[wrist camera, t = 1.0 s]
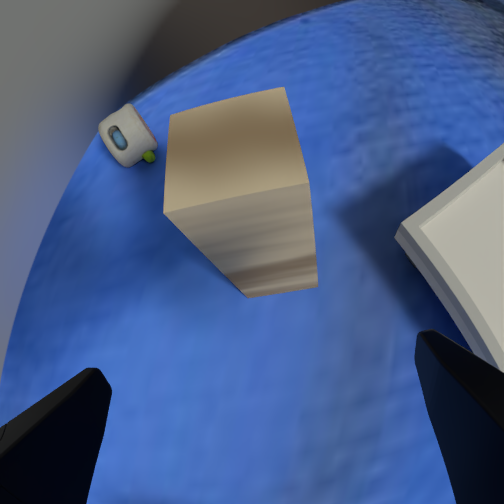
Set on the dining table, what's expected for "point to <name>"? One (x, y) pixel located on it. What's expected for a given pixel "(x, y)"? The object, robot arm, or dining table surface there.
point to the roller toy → (128, 136)
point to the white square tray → (465, 254)
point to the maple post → (243, 191)
